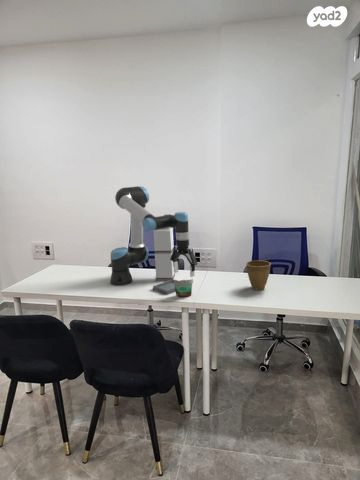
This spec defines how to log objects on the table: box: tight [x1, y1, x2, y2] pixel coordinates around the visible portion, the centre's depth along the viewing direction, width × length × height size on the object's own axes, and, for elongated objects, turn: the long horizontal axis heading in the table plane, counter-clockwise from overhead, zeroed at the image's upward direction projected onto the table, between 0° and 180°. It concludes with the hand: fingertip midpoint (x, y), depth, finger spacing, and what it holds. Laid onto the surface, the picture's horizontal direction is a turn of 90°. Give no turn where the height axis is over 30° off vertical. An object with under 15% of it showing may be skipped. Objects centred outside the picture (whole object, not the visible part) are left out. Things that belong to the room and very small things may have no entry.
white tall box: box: [152, 228, 176, 282], centre depth 237 cm, size 11×11×35 cm
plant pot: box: [245, 259, 272, 291], centre depth 213 cm, size 15×15×16 cm
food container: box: [173, 278, 194, 299], centre depth 204 cm, size 12×6×10 cm, turn 101°
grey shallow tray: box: [152, 278, 179, 296], centre depth 220 cm, size 14×18×2 cm
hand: (184, 274), depth 202 cm, fingers open, 13 cm apart
